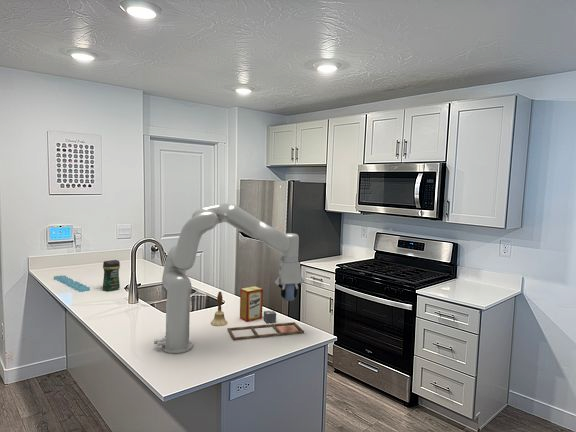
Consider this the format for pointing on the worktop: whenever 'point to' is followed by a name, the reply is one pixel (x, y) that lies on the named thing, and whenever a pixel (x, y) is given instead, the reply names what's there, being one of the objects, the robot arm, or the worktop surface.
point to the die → (269, 317)
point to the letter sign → (72, 283)
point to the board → (280, 332)
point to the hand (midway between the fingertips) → (288, 296)
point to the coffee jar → (111, 275)
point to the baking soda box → (251, 303)
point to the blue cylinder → (289, 292)
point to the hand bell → (219, 314)
